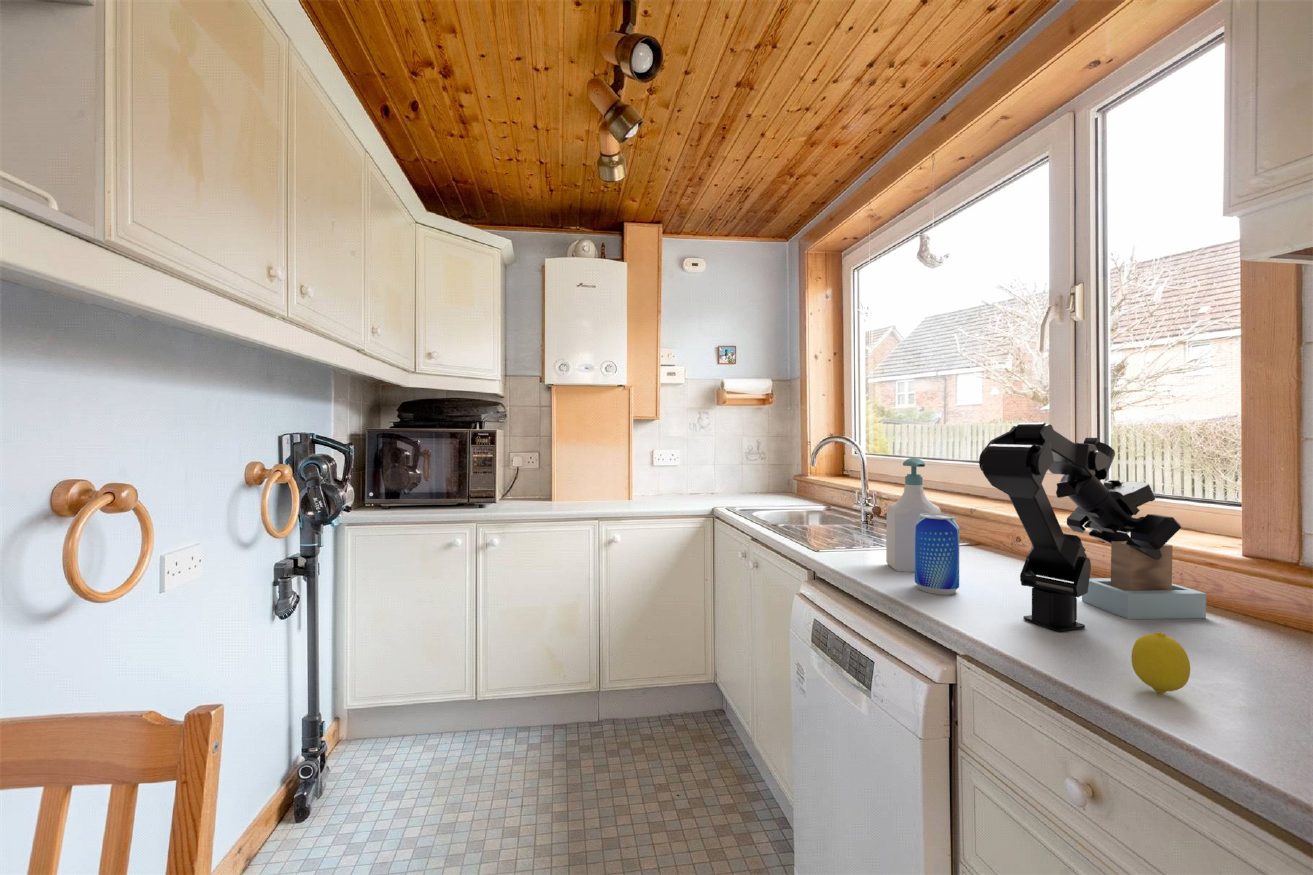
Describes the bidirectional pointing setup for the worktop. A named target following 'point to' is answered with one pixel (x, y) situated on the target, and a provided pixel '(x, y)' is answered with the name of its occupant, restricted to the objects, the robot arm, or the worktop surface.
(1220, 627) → the worktop surface
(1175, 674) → the lemon
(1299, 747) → the worktop surface
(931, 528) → the beer can
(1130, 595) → the light blue tray
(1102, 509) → the robot arm
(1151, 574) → the brown rectangular block
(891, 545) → the soap bottle
